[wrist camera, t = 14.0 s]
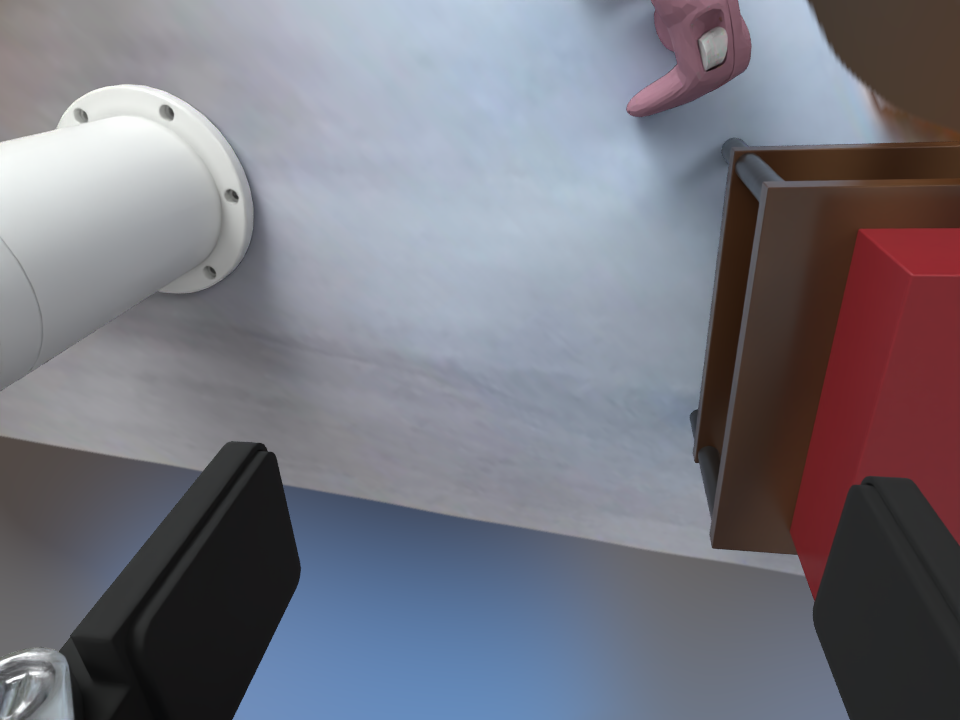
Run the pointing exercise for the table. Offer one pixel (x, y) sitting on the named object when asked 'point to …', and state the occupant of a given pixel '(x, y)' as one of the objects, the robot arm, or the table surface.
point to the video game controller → (695, 52)
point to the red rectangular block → (887, 386)
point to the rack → (792, 310)
